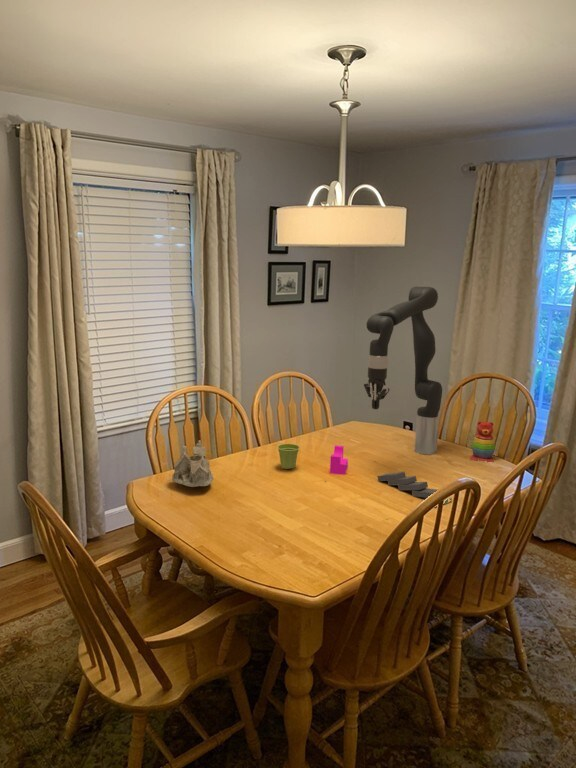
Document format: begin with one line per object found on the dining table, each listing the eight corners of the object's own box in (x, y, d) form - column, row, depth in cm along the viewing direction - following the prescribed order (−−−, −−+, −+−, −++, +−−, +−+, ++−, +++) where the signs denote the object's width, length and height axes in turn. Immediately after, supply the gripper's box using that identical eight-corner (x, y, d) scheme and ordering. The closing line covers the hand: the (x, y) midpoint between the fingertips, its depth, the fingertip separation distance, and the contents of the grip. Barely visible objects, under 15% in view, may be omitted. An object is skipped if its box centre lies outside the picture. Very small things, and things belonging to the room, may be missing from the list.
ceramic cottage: (174, 474, 224) (174, 438, 221) (215, 475, 224) (215, 438, 221) (166, 489, 208) (165, 450, 205) (210, 490, 208) (210, 451, 205)
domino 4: (412, 490, 208) (436, 493, 200) (419, 487, 211) (443, 490, 204) (412, 495, 208) (436, 499, 201) (419, 492, 211) (443, 495, 204)
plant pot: (273, 468, 233) (273, 448, 231) (282, 461, 241) (282, 442, 240) (294, 471, 229) (294, 451, 228) (302, 464, 238) (303, 445, 236)
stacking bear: (468, 462, 246) (472, 423, 243) (469, 455, 256) (473, 418, 252) (494, 466, 243) (499, 426, 239) (495, 459, 252) (499, 420, 248)
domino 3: (397, 485, 213) (418, 484, 205) (406, 482, 216) (427, 481, 208) (398, 490, 213) (419, 490, 205) (407, 487, 216) (428, 487, 208)
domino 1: (377, 476, 222) (396, 474, 214) (385, 473, 225) (404, 471, 217) (378, 481, 222) (397, 479, 214) (386, 478, 225) (405, 476, 217)
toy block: (345, 475, 228) (346, 457, 226) (329, 473, 229) (330, 456, 227) (348, 463, 242) (349, 446, 241) (334, 461, 243) (334, 445, 242)
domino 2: (387, 480, 217) (407, 478, 210) (395, 477, 221) (415, 475, 213) (388, 485, 217) (408, 484, 210) (397, 482, 220) (416, 481, 213)
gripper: (396, 368, 219) (393, 411, 222) (373, 363, 230) (371, 404, 233) (382, 369, 215) (379, 413, 218) (359, 364, 225) (357, 406, 229)
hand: (375, 408), depth 226 cm, fingers closed
